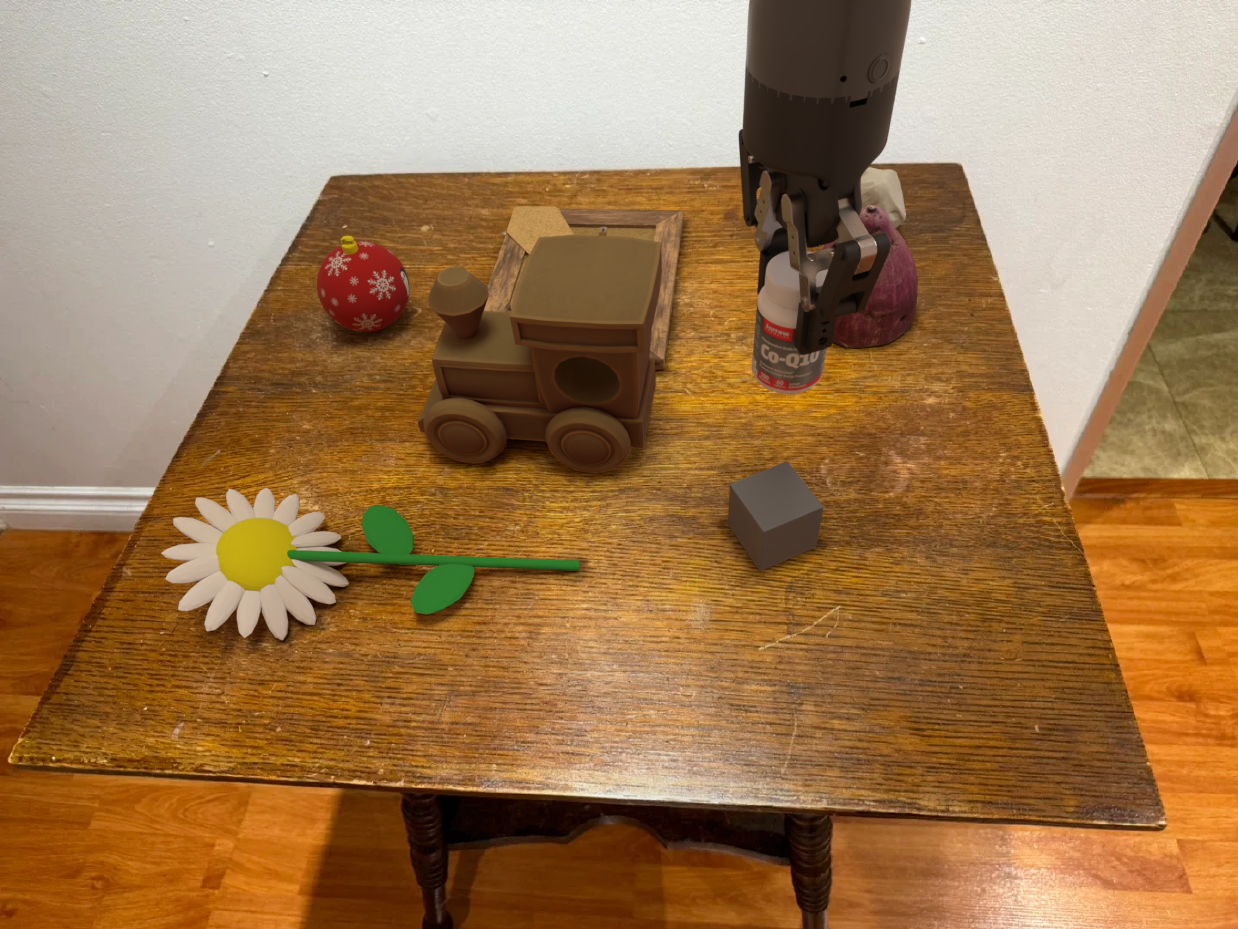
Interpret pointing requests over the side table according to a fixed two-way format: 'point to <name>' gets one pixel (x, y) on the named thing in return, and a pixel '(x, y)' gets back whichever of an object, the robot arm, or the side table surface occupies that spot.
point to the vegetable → (882, 292)
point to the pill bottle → (783, 332)
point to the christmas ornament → (362, 285)
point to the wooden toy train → (549, 355)
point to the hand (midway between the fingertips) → (793, 321)
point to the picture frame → (594, 222)
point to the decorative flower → (303, 562)
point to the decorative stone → (883, 193)
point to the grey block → (774, 515)
